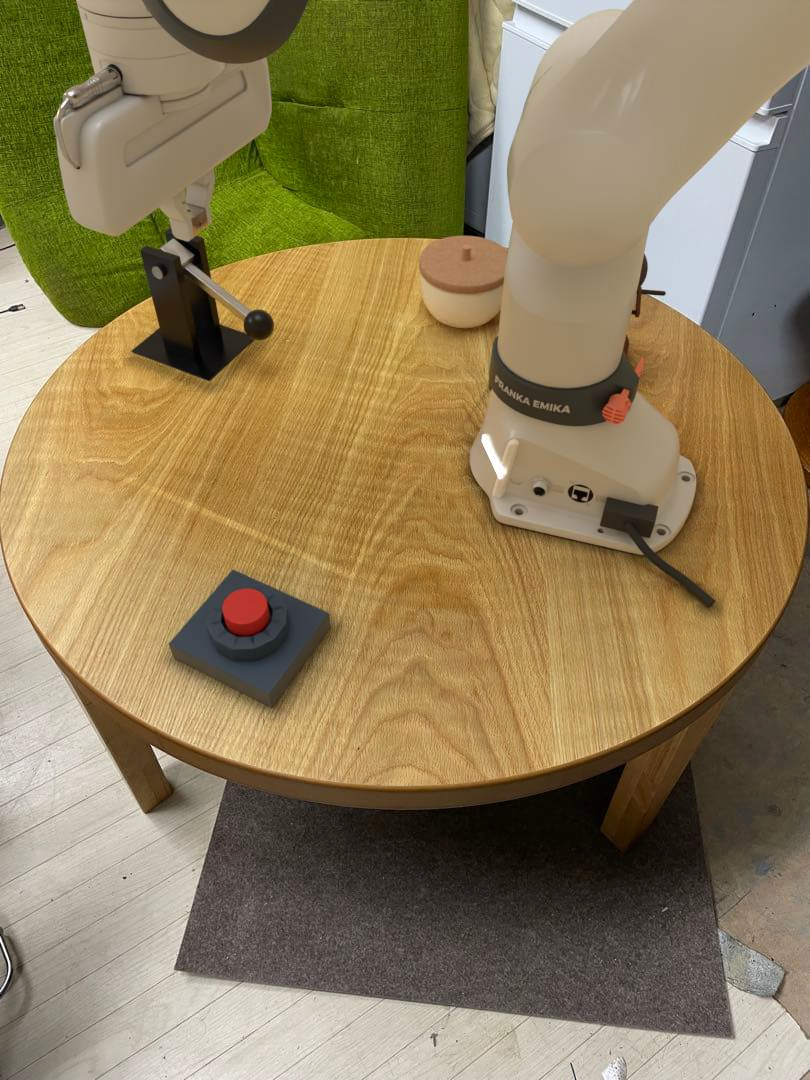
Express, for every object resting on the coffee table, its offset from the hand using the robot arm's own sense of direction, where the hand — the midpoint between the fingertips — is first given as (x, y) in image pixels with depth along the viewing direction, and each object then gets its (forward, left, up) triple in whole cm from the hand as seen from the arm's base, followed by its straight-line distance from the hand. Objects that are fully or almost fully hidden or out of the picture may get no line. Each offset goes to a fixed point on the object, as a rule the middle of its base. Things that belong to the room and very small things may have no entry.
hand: (193, 231), depth 69 cm
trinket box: (-9, -34, -26) cm, 43 cm away
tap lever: (+11, -13, -17) cm, 24 cm away
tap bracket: (+15, -13, -26) cm, 32 cm away
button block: (-14, +17, -26) cm, 34 cm away
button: (-14, +17, -22) cm, 31 cm away
